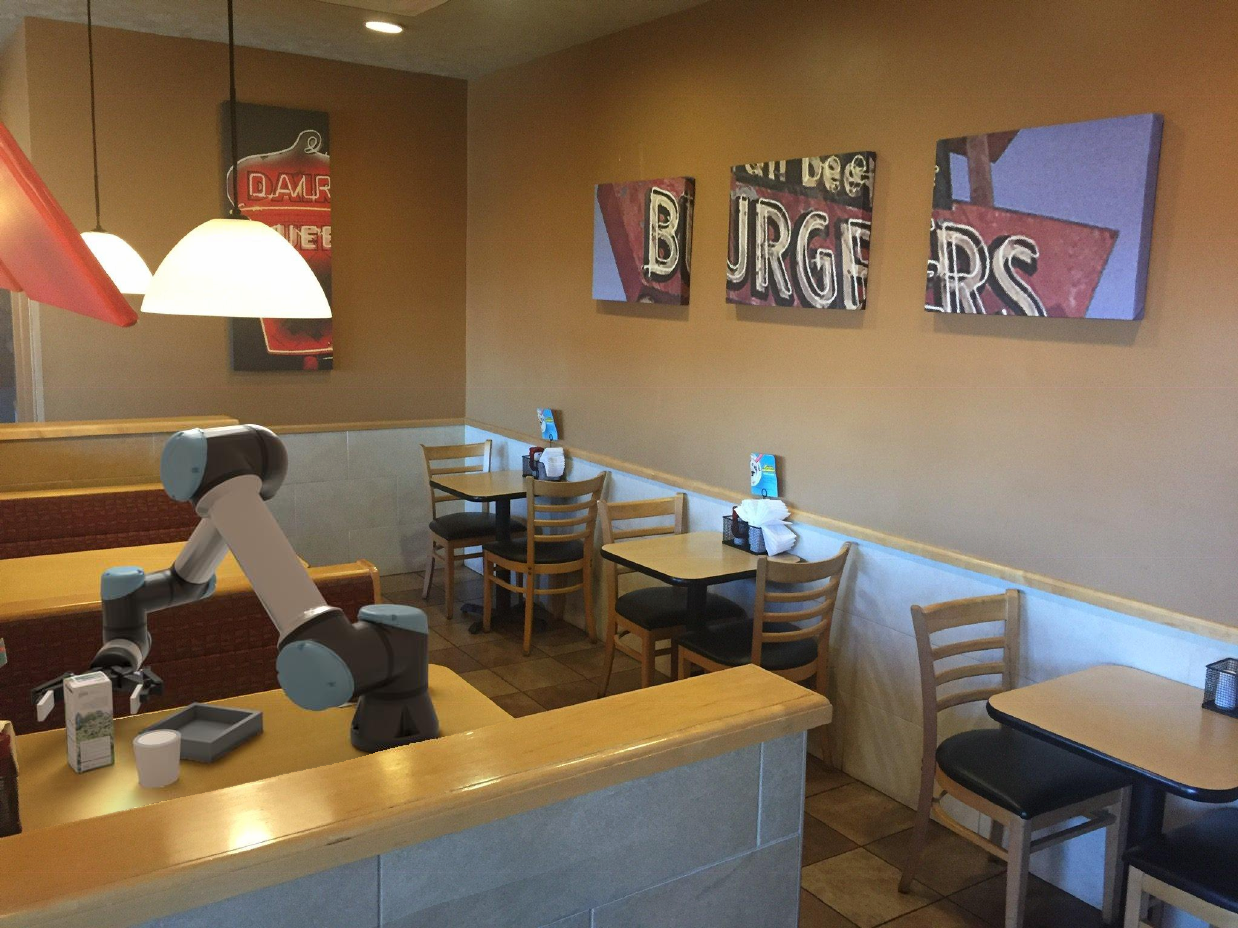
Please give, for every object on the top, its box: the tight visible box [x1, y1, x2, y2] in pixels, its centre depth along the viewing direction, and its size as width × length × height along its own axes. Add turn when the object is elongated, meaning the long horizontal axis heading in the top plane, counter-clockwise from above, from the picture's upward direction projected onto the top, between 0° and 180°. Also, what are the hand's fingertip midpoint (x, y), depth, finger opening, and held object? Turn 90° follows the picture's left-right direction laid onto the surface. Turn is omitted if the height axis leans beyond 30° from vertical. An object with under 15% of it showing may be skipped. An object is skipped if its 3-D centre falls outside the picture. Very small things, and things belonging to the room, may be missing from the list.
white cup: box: [132, 729, 181, 789], centre depth 158 cm, size 7×7×7 cm
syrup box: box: [63, 671, 116, 774], centre depth 162 cm, size 6×6×14 cm
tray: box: [137, 701, 264, 764], centre depth 173 cm, size 14×14×4 cm
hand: (86, 709), depth 163 cm, fingers open, 13 cm apart
